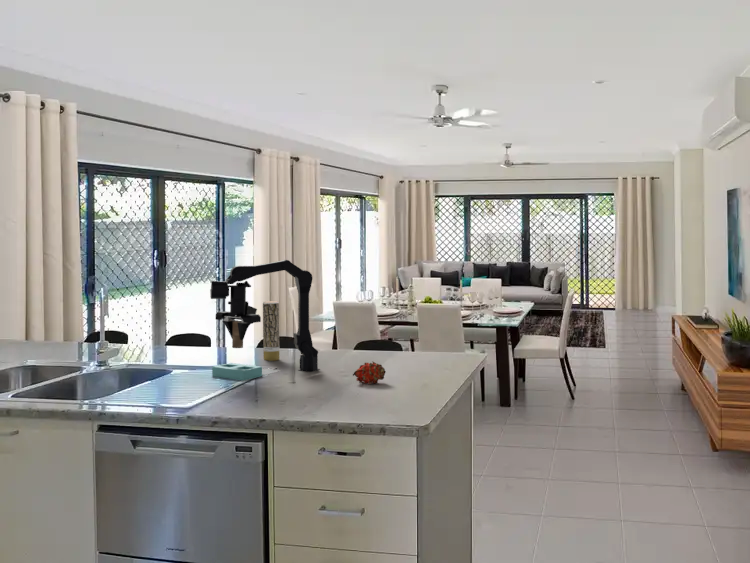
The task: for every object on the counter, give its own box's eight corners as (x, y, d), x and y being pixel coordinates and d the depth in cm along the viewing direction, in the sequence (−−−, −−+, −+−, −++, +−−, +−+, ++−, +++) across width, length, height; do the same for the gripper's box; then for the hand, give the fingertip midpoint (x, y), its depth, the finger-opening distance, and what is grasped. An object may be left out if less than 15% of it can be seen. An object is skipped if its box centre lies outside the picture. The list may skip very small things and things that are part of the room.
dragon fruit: (388, 387, 270) (355, 393, 269) (384, 370, 276) (352, 376, 275) (387, 371, 265) (353, 377, 263) (383, 354, 271) (350, 360, 270)
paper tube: (276, 361, 317) (275, 302, 316) (261, 361, 319) (260, 302, 317) (281, 358, 324) (281, 301, 323) (266, 358, 325) (265, 301, 324)
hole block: (262, 377, 283) (261, 366, 282) (243, 381, 274) (243, 370, 274) (231, 373, 291) (231, 362, 291) (212, 377, 283) (212, 366, 283)
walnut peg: (245, 347, 287) (245, 321, 286) (237, 348, 284) (238, 322, 283) (237, 346, 289) (237, 320, 289) (230, 347, 286) (230, 321, 285)
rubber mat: (281, 371, 294) (281, 370, 293) (264, 375, 285) (264, 374, 285) (262, 369, 299) (262, 368, 299) (245, 373, 291) (245, 372, 291)
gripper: (270, 299, 287) (270, 339, 288) (235, 296, 297) (234, 335, 298) (250, 300, 278) (250, 342, 278) (214, 297, 288) (214, 338, 289)
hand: (237, 339), depth 286 cm, fingers closed on walnut peg, 4 cm apart
